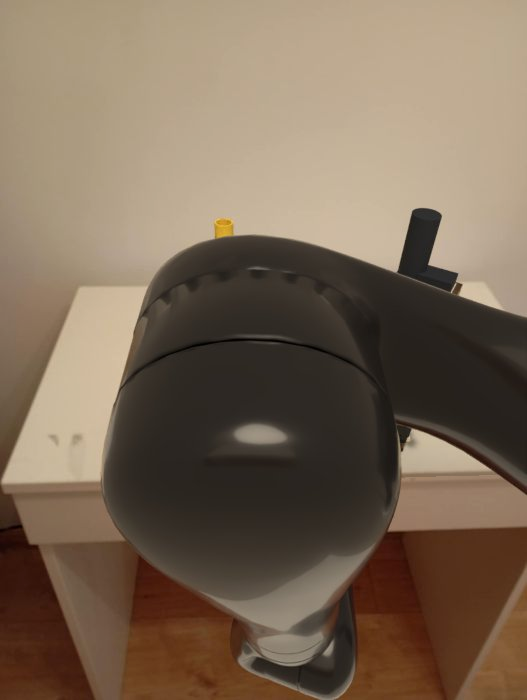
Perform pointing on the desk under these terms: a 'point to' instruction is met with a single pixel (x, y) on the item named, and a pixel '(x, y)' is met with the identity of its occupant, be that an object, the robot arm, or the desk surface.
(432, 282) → the black boot
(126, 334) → the desk surface
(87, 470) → the desk surface
